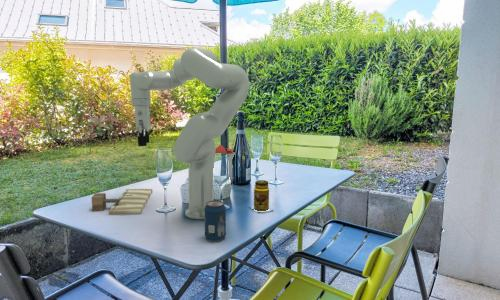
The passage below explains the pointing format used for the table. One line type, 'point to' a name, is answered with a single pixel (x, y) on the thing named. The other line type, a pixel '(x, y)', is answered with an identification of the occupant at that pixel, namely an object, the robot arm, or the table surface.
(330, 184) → the table surface
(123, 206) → the wooden slatted rack
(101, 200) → the marking gauge
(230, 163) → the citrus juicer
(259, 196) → the condiment
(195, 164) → the robot arm
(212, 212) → the soda can
